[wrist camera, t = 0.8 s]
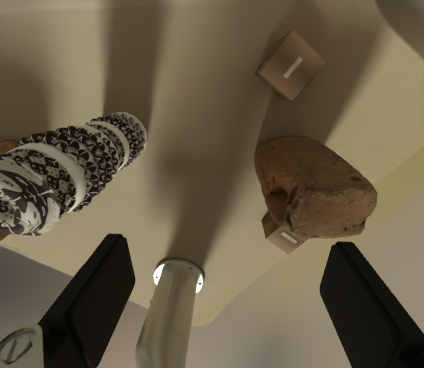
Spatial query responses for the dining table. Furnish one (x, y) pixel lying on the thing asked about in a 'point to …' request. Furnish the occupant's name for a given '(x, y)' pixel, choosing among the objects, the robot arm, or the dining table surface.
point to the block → (313, 189)
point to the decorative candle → (64, 170)
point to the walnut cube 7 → (290, 66)
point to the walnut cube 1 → (281, 235)
